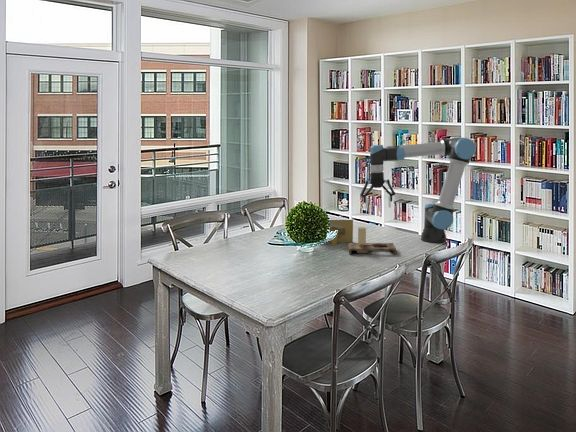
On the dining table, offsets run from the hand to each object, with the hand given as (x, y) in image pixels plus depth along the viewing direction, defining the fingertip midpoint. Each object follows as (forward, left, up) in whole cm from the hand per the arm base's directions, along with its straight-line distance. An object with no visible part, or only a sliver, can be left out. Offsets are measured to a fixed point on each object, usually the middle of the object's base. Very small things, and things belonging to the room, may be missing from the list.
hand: (377, 207), depth 297 cm
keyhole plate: (+5, +13, -23) cm, 27 cm away
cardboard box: (+26, -7, -24) cm, 36 cm away
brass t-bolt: (+10, +13, -23) cm, 29 cm away
